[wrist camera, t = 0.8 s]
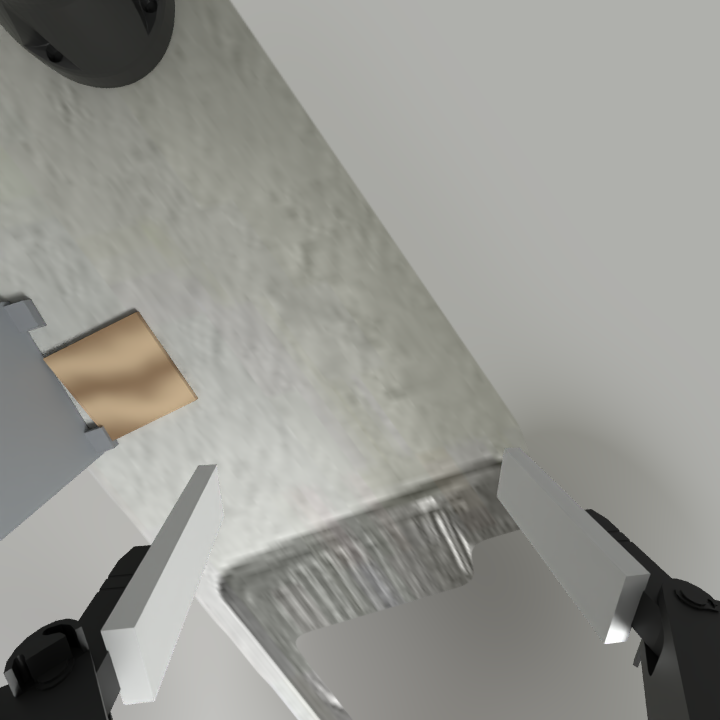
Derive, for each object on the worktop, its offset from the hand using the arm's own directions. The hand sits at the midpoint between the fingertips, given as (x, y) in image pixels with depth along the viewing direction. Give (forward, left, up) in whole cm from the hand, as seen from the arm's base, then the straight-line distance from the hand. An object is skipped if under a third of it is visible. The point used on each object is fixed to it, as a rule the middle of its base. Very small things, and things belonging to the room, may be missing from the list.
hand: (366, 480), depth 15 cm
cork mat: (-8, -25, -27) cm, 38 cm away
